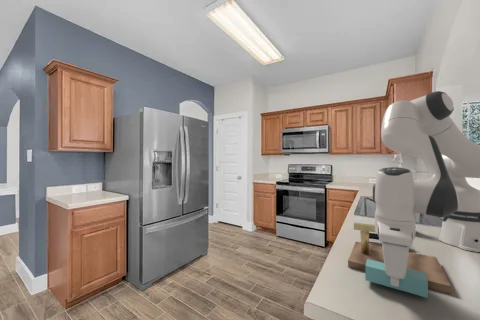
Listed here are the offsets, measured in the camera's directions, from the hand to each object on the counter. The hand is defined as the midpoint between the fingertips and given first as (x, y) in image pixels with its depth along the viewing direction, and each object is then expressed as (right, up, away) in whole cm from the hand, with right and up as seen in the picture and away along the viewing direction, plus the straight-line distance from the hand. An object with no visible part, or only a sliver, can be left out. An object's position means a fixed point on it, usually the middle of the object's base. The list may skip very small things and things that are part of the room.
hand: (394, 279), depth 56 cm
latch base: (+9, -3, +13) cm, 16 cm away
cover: (0, -1, 0) cm, 1 cm away
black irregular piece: (+18, -3, +30) cm, 35 cm away
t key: (+4, -1, +20) cm, 21 cm away
